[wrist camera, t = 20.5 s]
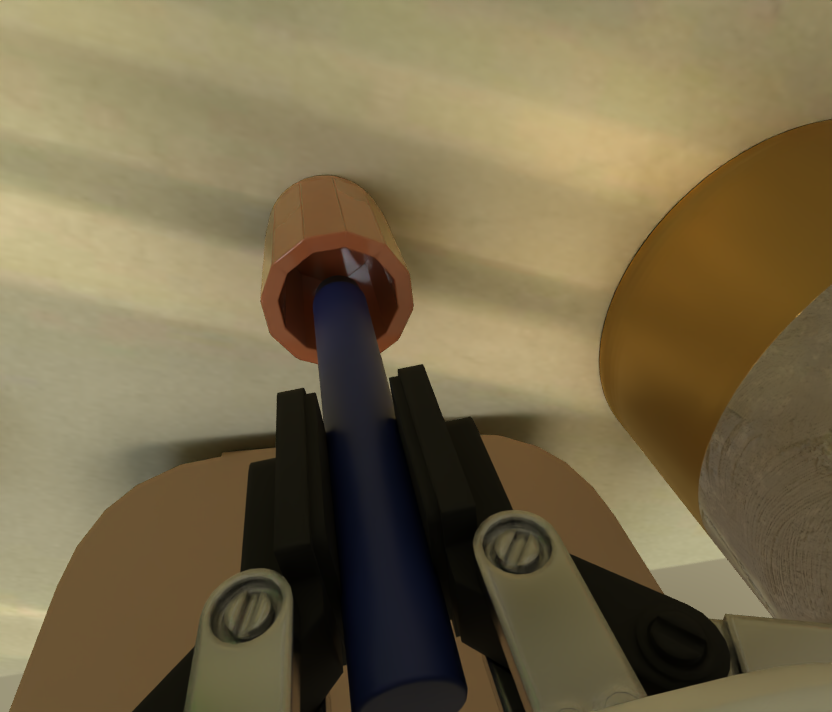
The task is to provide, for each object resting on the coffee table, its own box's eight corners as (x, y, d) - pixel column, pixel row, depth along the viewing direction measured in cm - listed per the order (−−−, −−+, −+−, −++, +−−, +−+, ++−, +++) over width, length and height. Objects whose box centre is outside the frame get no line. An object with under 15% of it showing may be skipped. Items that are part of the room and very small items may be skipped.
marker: (317, 321, 18) (362, 750, 8) (306, 276, 17) (342, 697, 7) (367, 312, 18) (471, 721, 8) (359, 267, 17) (467, 666, 7)
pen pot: (254, 185, 20) (244, 248, 15) (375, 166, 20) (403, 221, 16) (283, 294, 22) (282, 378, 18) (390, 275, 23) (419, 352, 18)
